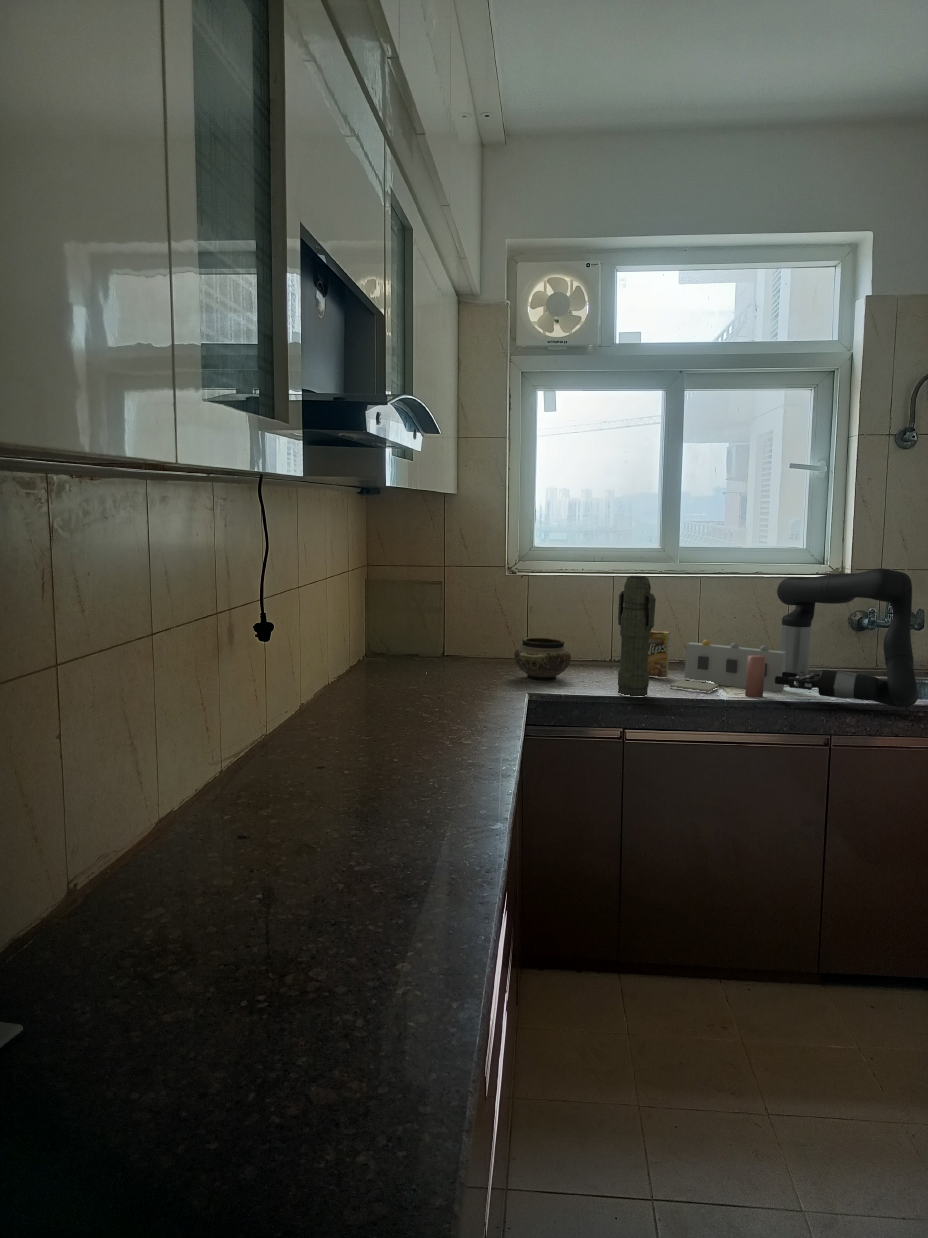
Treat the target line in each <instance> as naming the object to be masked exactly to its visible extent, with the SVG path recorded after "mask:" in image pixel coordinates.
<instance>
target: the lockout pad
mask: <svg viewBox="0 0 928 1238" xmlns="http://www.w3.org/2000/svg"><path fill="white" fill-rule="evenodd" d="M670 687H677V688H683V689H692V690H699V691H706V692H709V691H711V690H713V689H715V688H718V687H720V686H719V685H718V684H710V683H702V682H694V681H686V680H685V679H684V680H683V679H681V680H678V681H676V682H673V683H672V684H669V688H670Z"/></svg>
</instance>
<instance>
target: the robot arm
mask: <svg viewBox="0 0 928 1238" xmlns="http://www.w3.org/2000/svg"><path fill="white" fill-rule="evenodd" d="M912 584H913V583H912V579H911V578H910V576H909V574H907V573H906V572H903V571H897V570H894V569H889V568H884V567H883V568H881V567H880V568H874V569H869V570H865V571H861V572H857V573H856V572H854V573H853V572H846V573H845V572H842V573H832V574H825V575H819V576H818V575H817V576H815V577H787V578H785V579H783V580H782V581H780V583H779V584H778V586H777V589H776V593H777V594H776V595H777V597H778V599H779V601H780V602H781V603H782V604H784V605H787V606H795V607H794V609H793V611H791V612H789V613H786V615H785V614H784V615H783V616H782V618H781V629H780V630H781V631H780V643H779V644H780V646H779V651H784V652H786V663H785V672H783V673H782V676H776V677H775V684H781V685H784V686H788V687H789V688H791V689H799V690H800V689H801V690H808V691H811V690H812V689H818V691H817V692H818V695H819V696H820V697H828V698H836V699H845V700H861V701H866V702H867V701H869V702H874V703H875V702H876V703H878V704H883V705H886V706H891V707H896V708H909V707H910V708H911V707H912V706H914V705H915V704H916V703H917V701H918V700H919V691H918V687H917V686H918V685H917V681H916V676H915V675H916V674H915V670H914V664H915V663H914V661H915V660H914V653H913V647H912V639H911V638H912V637H911V636H912V635H911V623H912V622H911V621H912V604H913V601H912V600H913V585H912ZM856 598H859V599H861V598H862V599H863V598H864V599H869V600H874V601H878V602H884V603H889V604H890V606H891V610H892V618H891V622H890V624H889V626H888V628H887V630H886V633H885V635H884V637H883V655H884V663H885V667H886V678H887V680H883V679H880V678H879V677H877V676H874V675H869V674H859V673H854V672H849V671H841V670H832V669H831V670H830V669H822V670H821V671H820V673H813V672H809V664H810V663H809V662H810V650H811V647H810V646H811V634H812V633H811V632H812V622H813V620H814V616H815V610H816V604H817V603H818V604H830V605H835V604H837V605H838V604H847V603H848V604H849V603H850V602H852V601H853V600H855V599H856Z"/></svg>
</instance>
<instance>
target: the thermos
mask: <svg viewBox="0 0 928 1238" xmlns="http://www.w3.org/2000/svg"><path fill="white" fill-rule="evenodd" d="M651 589H652V587H651V582H650V580H649V577H647V576H645V575H630V576H627V577H626V580H625V583H624V586H623V590H621V592H620V593H619V595H618V609H617V610H618V613H617V615H618V616H617V621H618V623H617V624H618V626H619V629H620V631H619V635H620V637H621V638H620V639H621V642H620V643H621V645H620V646H621V647H620V667H619V669H618V671H617V686H618V688H617V694H618V693H621V694H624V695H630V696H645V695H647V694H648V691H649V690H648V689H649V685H650V678H649V671H648V646H649V638H650V636H651V631H652V629H653V628H654V627H655V614H656V613H655V612H656V603H657V601H656V597H655V595H654V593H651V591H652V590H651ZM647 696H648V695H647ZM645 697H646V696H645Z"/></svg>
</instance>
